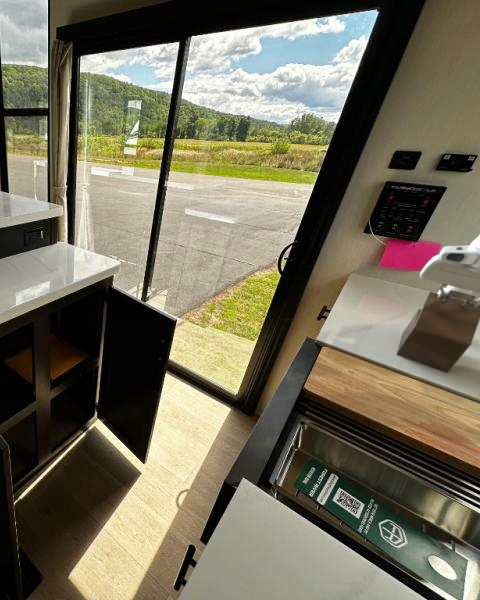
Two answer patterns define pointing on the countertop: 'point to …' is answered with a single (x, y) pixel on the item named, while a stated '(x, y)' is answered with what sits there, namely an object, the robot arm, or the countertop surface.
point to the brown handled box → (449, 317)
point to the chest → (429, 348)
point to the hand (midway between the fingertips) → (456, 301)
